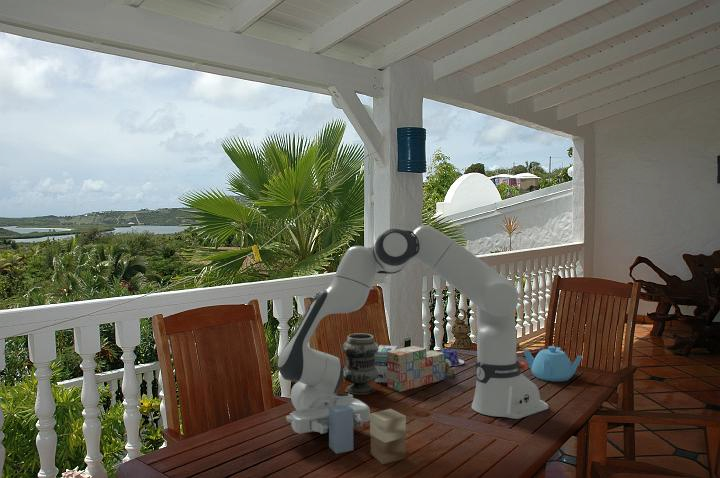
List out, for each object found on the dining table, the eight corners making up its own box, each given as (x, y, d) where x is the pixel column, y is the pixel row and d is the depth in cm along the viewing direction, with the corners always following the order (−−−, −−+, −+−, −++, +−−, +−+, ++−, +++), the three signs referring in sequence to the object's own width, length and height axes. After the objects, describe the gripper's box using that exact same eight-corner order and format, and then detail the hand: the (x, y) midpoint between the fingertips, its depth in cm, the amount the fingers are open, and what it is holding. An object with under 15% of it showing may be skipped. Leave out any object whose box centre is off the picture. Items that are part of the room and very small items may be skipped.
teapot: (585, 381, 189) (585, 350, 189) (545, 385, 186) (545, 353, 186) (559, 370, 204) (559, 341, 204) (522, 373, 201) (522, 343, 200)
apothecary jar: (366, 398, 173) (366, 341, 172) (334, 392, 179) (334, 336, 179) (385, 388, 183) (385, 334, 182) (354, 383, 189) (354, 330, 189)
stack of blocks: (432, 376, 197) (432, 341, 196) (445, 380, 192) (445, 344, 191) (387, 387, 184) (386, 350, 183) (399, 392, 179) (399, 354, 178)
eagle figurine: (426, 369, 201) (434, 371, 193) (436, 352, 203) (444, 353, 194) (444, 380, 202) (453, 382, 193) (453, 363, 204) (462, 364, 195)
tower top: (390, 429, 134) (390, 408, 134) (405, 437, 129) (405, 415, 129) (370, 434, 131) (369, 413, 130) (384, 442, 125) (384, 421, 125)
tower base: (393, 449, 134) (393, 429, 134) (405, 459, 128) (405, 438, 128) (370, 454, 131) (370, 433, 131) (382, 464, 126) (382, 442, 126)
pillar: (345, 443, 138) (345, 403, 137) (353, 450, 134) (353, 409, 133) (329, 446, 136) (328, 406, 135) (336, 453, 132) (335, 412, 131)
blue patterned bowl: (430, 366, 212) (430, 352, 212) (436, 358, 224) (436, 345, 223) (462, 368, 208) (462, 354, 208) (466, 360, 220) (466, 347, 220)
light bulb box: (394, 383, 188) (394, 352, 188) (374, 382, 190) (374, 351, 189) (398, 375, 199) (398, 345, 198) (379, 374, 200) (379, 344, 200)
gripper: (283, 403, 142) (301, 421, 129) (356, 392, 150) (379, 407, 138) (283, 428, 142) (301, 447, 129) (356, 415, 151) (379, 433, 138)
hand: (342, 427), depth 134 cm, fingers open, 8 cm apart
